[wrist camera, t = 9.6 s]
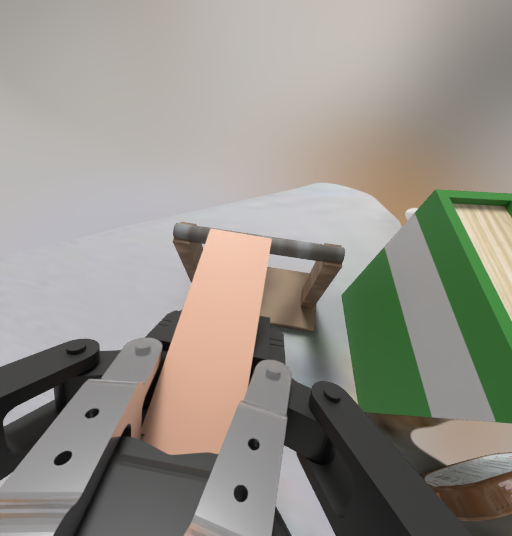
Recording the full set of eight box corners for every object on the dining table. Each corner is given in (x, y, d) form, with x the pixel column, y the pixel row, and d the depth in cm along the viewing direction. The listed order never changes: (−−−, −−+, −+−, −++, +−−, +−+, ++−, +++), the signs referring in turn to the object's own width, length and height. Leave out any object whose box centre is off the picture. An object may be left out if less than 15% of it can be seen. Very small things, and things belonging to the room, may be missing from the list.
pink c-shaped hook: (190, 451, 17) (112, 513, 6) (223, 315, 22) (210, 228, 12) (233, 460, 16) (224, 535, 6) (256, 321, 22) (271, 238, 11)
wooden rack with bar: (186, 310, 40) (155, 261, 26) (202, 260, 45) (183, 195, 31) (313, 331, 39) (350, 291, 25) (315, 277, 44) (347, 218, 30)
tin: (413, 504, 29) (471, 538, 22) (401, 471, 30) (450, 493, 23) (518, 473, 31) (604, 495, 23) (502, 443, 32) (577, 455, 25)
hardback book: (411, 413, 34) (684, 431, 13) (359, 411, 33) (547, 426, 13) (383, 297, 42) (516, 194, 21) (341, 295, 42) (435, 189, 21)
